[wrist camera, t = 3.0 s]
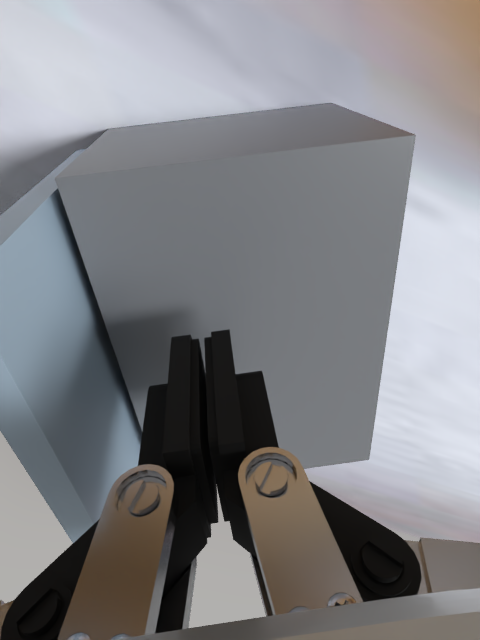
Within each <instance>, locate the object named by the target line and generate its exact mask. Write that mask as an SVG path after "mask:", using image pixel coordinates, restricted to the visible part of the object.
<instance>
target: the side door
mask: <svg viewBox="0 0 480 640" xmlns="http://www.w3.org/2000/svg"><path fill="white" fill-rule="evenodd" d="M85 150H86V149H82V150H77V151H75V152H74V153H73V154H72V155H71V156H69V157H68V158H67V159H66V160H65V161H64V162H62V163H61V164H60V165H59V166H58V167H57V168H55V169H54V170H53V171H52V172H51V173H50V174H48V175H47V176H46V177H45V178H44V179H43V180H41V181H40V182H39V183H38V184H37V185H35V186H34V187H33V188H32V189H31V190H30V191H28V192H27V193H26V194H25V195H24V196H23V197H21V198H20V199H19V200H18V201H17V202H16V203H14V204H13V205H12V206H11V207H10V208H8V209H7V210H6V211H5V212H4V213H3V214H1V215H0V431H1V432H2V434H3V435H4V437H5V438H6V440H7V441H8V443H9V445H10V446H11V448H12V449H13V451H14V452H15V454H16V455H17V457H18V459H19V460H20V462H21V463H22V465H23V466H24V468H25V470H26V471H27V472H28V474H29V476H30V477H31V479H32V480H33V482H34V483H35V485H36V486H37V488H38V490H39V491H40V493H41V494H42V496H43V497H44V499H45V500H46V502H47V503H48V505H49V507H50V508H51V510H52V511H53V513H54V514H55V516H56V518H57V519H58V521H59V522H60V524H61V525H62V527H63V528H64V530H65V532H66V533H67V534H68V536H69V538H70V539H71V541H72V542H73V543H74V542H75V541H76V540H77V539H78V538H80V537H81V536H82V535H83V534H84V533H85V532H86V531H87V530H88V529H89V528H90V527H91V526H92V525H94V524H95V523H96V522H97V521H98V520H99V519H100V516H101V513H102V511H103V508H104V505H105V502H106V499H107V496H108V493H109V491H110V489H111V487H112V485H113V484H114V482H115V481H116V480H117V479H118V478H119V477H120V476H121V475H122V474H124V473H125V472H126V471H128V470H129V469H132V468H134V467H136V466H138V461H139V453H140V446H141V438H142V430H141V427H140V424H139V421H138V418H137V415H136V412H135V409H134V406H133V404H132V401H131V398H130V395H129V392H128V389H127V386H126V383H125V380H124V378H123V375H122V372H121V369H120V366H119V363H118V360H117V357H116V354H115V352H114V349H113V346H112V343H111V340H110V337H109V334H108V331H107V328H106V326H105V323H104V320H103V317H102V314H101V311H100V308H99V305H98V302H97V299H96V297H95V294H94V291H93V288H92V285H91V282H90V279H89V276H88V273H87V271H86V268H85V265H84V262H83V259H82V256H81V253H80V250H79V247H78V245H77V242H76V239H75V236H74V233H73V230H72V227H71V224H70V221H69V218H68V216H67V213H66V210H65V207H64V204H63V201H62V198H61V195H60V192H59V190H58V187H57V184H56V181H55V177H56V176H57V175H58V174H60V173H61V172H62V171H63V170H64V169H65V168H66V167H67V166H68V165H69V164H70V163H72V162H73V161H74V160H75V159H76V158H77V157H78V156H79V155H80V154H81V153H83V152H84V151H85Z"/></svg>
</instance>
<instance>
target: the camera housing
mask: <svg viewBox="0 0 480 640" xmlns="http://www.w3.org/2000/svg"><path fill="white" fill-rule="evenodd" d="M415 136H416V135H414V134H412V133H409V132H406V131H404V130H401V129H399V128H396V127H393V126H391V125H388V124H386V123H383V122H380V121H378V120H375V119H372V118H370V117H367V116H365V115H362V114H359V113H357V112H354V111H352V110H349V109H346V108H344V107H341V106H339V105H336V104H333V103H327V104H318V105H309V106H301V107H292V108H284V109H275V110H267V111H258V112H249V113H241V114H232V115H224V116H215V117H206V118H198V119H189V120H181V121H172V122H164V123H155V124H146V125H138V126H129V127H121V128H112V129H108V130H107V131H105V132H104V133H103V134H102V135H101V136H100V137H99V138H98V139H97V140H96V141H95V142H93V143H92V144H91V145H90V146H89V147H88V148H87V149H86V150H85V151H84V152H83V153H81V154H80V155H79V156H78V157H77V158H76V159H75V160H74V161H73V162H72V163H70V164H69V165H68V166H67V167H66V168H65V169H64V170H63V171H62V172H61V173H60V174H58V175H57V176H56V177H55V181H56V184H57V187H58V190H59V192H60V195H61V198H62V201H63V204H64V207H65V210H66V213H67V216H68V218H69V221H70V224H71V227H72V230H73V233H74V236H75V239H76V242H77V245H78V247H79V250H80V253H81V256H82V259H83V262H84V265H85V268H86V271H87V273H88V276H89V279H90V282H91V285H92V288H93V291H94V294H95V297H96V299H97V302H98V305H99V308H100V311H101V314H102V317H103V320H104V323H105V326H106V328H107V331H108V334H109V337H110V340H111V343H112V346H113V349H114V352H115V354H116V357H117V360H118V363H119V366H120V369H121V372H122V375H123V378H124V380H125V383H126V386H127V389H128V392H129V395H130V398H131V401H132V404H133V406H134V409H135V412H136V415H137V418H138V421H139V424H140V427H141V430H142V431H143V423H144V416H145V408H146V401H147V393H148V388H149V386H152V385H160V384H167V383H168V373H169V360H170V347H171V338H172V337H175V336H183V335H191V337H192V339H199V342H200V347H201V352H202V358H203V363H204V368H205V345H204V338H206V337H211V332H213V331H221V330H228V329H230V336H231V344H232V351H233V359H234V366H235V374H241V373H248V372H255V371H262V373H263V377H264V381H265V386H266V391H267V395H268V400H269V404H270V409H271V414H272V418H273V423H274V428H275V432H276V437H277V441H278V446H279V448H282V449H284V450H287V451H289V452H290V453H292V454H293V455H294V456H295V457H297V459H298V460H299V462H300V463H301V465H302V467H303V469H306V468H313V467H320V466H327V465H334V464H341V463H349V462H356V461H363V460H369V456H370V450H371V443H372V436H373V429H374V422H375V415H376V408H377V401H378V394H379V387H380V380H381V373H382V366H383V359H384V352H385V345H386V338H387V331H388V324H389V317H390V310H391V303H392V296H393V289H394V282H395V275H396V268H397V262H398V255H399V248H400V241H401V234H402V227H403V220H404V213H405V206H406V199H407V192H408V185H409V178H410V171H411V164H412V157H413V150H414V143H415ZM205 374H206V371H205Z"/></svg>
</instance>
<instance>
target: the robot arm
mask: <svg viewBox="0 0 480 640" xmlns="http://www.w3.org/2000/svg"><path fill="white" fill-rule="evenodd" d="M204 345H205V368H204V363H203V358H202V352H201V347H200V342H199V339H192V337H191V335H183V336H175V337H172V338H171V347H170V360H169V373H168V383H167V384H160V385H152V386H149V388H148V393H147V401H146V408H145V416H144V423H143V431H142V438H141V446H140V453H139V461H138V466H136V467H134V468H132V469H129V470H128V471H126V472H125V473H124V474H122V475H121V476H120V477H119V478H118V479H117V480H116V481H115V482H114V484H113V485H112V487H111V489H110V491H109V493H108V496H107V499H106V502H105V505H104V508H103V511H102V513H101V516H100V519H99V520H98V521H97V522H96V523H95V524H94V525H92V526H91V527H90V528H89V529H88V530H87V531H86V532H85V533H84V534H83V535H82V536H81V537H80V538H78V539H77V540H76V541H75V542H74V543H73V544H72V545H71V546H70V547H69V548H68V549H67V550H66V551H64V553H62V554H61V555H60V556H59V557H58V558H57V559H56V560H55V561H54V562H53V563H52V564H50V565H49V566H48V567H47V568H46V569H45V570H44V571H43V572H42V573H41V574H40V575H39V576H38V577H37V578H35V579H34V580H33V581H32V582H31V583H30V584H29V585H28V586H27V587H26V588H25V589H24V590H23V591H22V592H21V593H20V594H19V595H18V597H17V598H16V599H15V600H13V601H11V602H8V603H4V602H3V601H0V640H480V543H474V542H463V541H453V540H442V539H432V538H421V537H420V541H419V542H418V541H406V540H403V539H402V538H401V537H399V536H398V535H397V534H396V533H394V532H392V531H391V530H389V529H387V528H386V527H384V526H383V525H381V524H379V523H378V522H376V521H374V520H373V519H371V518H369V517H368V516H366V515H364V514H363V513H361V512H359V511H358V510H356V509H355V508H353V507H351V506H350V505H348V504H346V503H345V502H343V501H341V500H340V499H338V498H336V497H335V496H333V495H331V494H330V493H328V492H326V491H325V490H323V489H322V488H320V487H318V486H317V485H315V484H313V483H312V482H310V481H309V480H308V478H307V475H306V473H305V471H304V469H303V467H302V465H301V463H300V462H299V460H298V459H297V457H295V456H294V455H293V454H292V453H290V452H289V451H287V450H284V449H282V448H279V446H278V441H277V437H276V432H275V428H274V423H273V418H272V414H271V409H270V404H269V400H268V395H267V391H266V386H265V381H264V377H263V373H262V371H255V372H248V373H241V374H235V366H234V359H233V351H232V344H231V336H230V329H228V330H221V331H213V332H211V337H206V338H204ZM205 371H206V374H205ZM216 484H217V488H218V493H219V498H220V503H221V508H222V512H223V517H224V521H230V525H231V530H232V534H233V540H235V541H236V542H237V543H238V544H240V545H241V546H242V547H243V548H245V549H246V550H247V551H248V552H250V556H251V561H252V564H253V568H254V572H255V576H256V580H257V583H258V587H259V591H260V595H261V599H262V603H263V606H264V610H265V614H266V617H260V618H254V619H247V620H241V621H234V622H228V623H221V624H214V625H208V626H202V627H195V628H188V627H189V619H190V612H191V604H192V597H193V589H194V581H195V574H196V566H197V559H196V557H197V555H198V554H199V552H200V551H201V550H202V549H203V548H204V547H205V545H206V544H207V538H208V537H211V523H217V522H218V507H217V488H216Z"/></svg>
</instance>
